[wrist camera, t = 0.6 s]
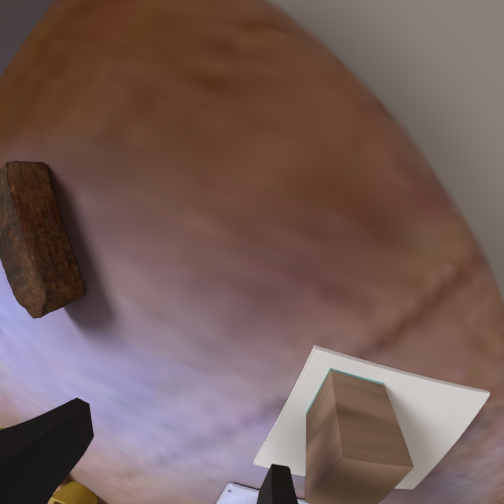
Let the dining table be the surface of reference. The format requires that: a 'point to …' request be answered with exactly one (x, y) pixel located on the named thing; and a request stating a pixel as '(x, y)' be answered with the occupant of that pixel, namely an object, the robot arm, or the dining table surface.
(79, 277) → the brick
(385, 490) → the walnut block
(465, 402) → the white mat
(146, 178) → the dining table surface
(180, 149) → the dining table surface
